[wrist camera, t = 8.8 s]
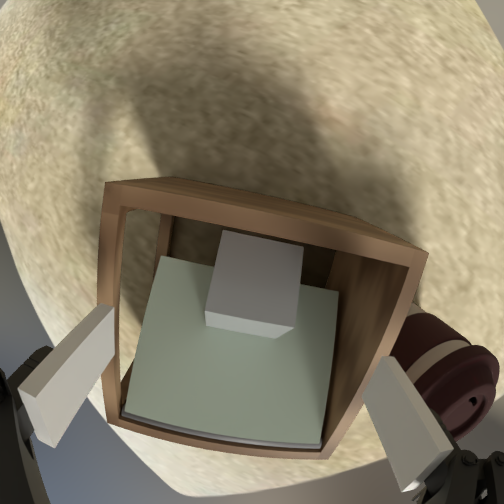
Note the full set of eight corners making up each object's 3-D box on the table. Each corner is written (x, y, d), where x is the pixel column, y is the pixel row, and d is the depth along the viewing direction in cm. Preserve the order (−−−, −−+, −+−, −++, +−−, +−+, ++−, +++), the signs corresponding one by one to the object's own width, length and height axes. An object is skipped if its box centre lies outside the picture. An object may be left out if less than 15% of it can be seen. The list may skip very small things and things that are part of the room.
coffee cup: (357, 376, 31) (401, 476, 16) (346, 304, 28) (412, 406, 14) (429, 347, 30) (494, 426, 15) (429, 275, 27) (522, 343, 13)
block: (219, 260, 22) (223, 229, 18) (284, 274, 23) (303, 246, 18) (206, 325, 20) (204, 310, 16) (275, 338, 20) (294, 327, 16)
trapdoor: (160, 259, 23) (158, 254, 22) (336, 295, 23) (340, 291, 23) (124, 414, 18) (120, 416, 17) (316, 447, 18) (320, 449, 17)
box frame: (170, 176, 25) (105, 182, 13) (355, 217, 26) (429, 252, 14) (150, 340, 29) (107, 422, 17) (305, 369, 30) (327, 459, 18)
